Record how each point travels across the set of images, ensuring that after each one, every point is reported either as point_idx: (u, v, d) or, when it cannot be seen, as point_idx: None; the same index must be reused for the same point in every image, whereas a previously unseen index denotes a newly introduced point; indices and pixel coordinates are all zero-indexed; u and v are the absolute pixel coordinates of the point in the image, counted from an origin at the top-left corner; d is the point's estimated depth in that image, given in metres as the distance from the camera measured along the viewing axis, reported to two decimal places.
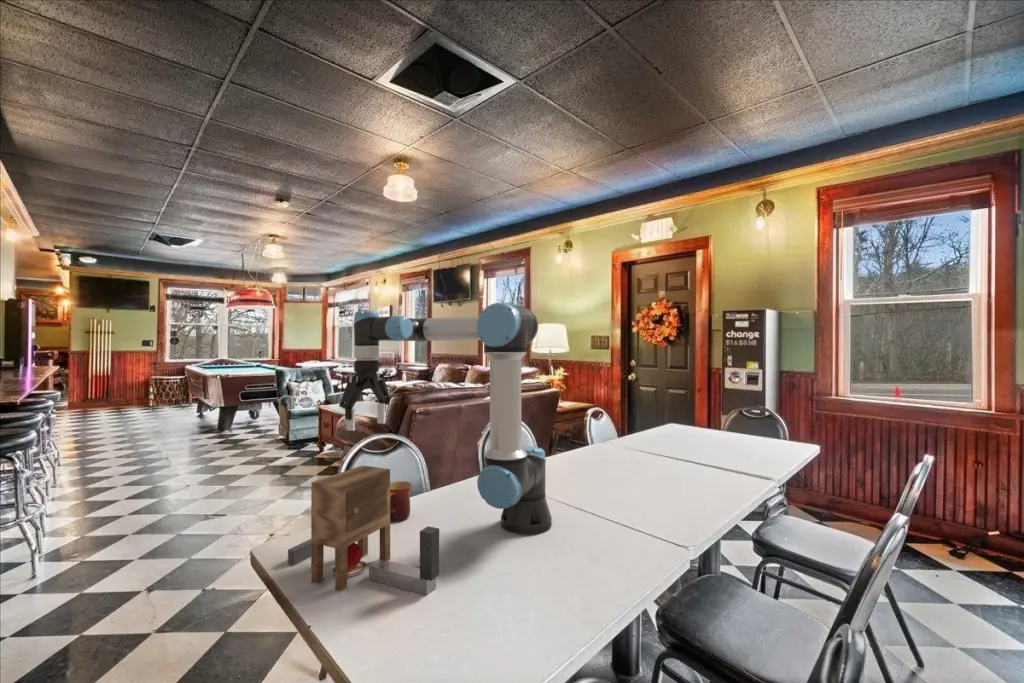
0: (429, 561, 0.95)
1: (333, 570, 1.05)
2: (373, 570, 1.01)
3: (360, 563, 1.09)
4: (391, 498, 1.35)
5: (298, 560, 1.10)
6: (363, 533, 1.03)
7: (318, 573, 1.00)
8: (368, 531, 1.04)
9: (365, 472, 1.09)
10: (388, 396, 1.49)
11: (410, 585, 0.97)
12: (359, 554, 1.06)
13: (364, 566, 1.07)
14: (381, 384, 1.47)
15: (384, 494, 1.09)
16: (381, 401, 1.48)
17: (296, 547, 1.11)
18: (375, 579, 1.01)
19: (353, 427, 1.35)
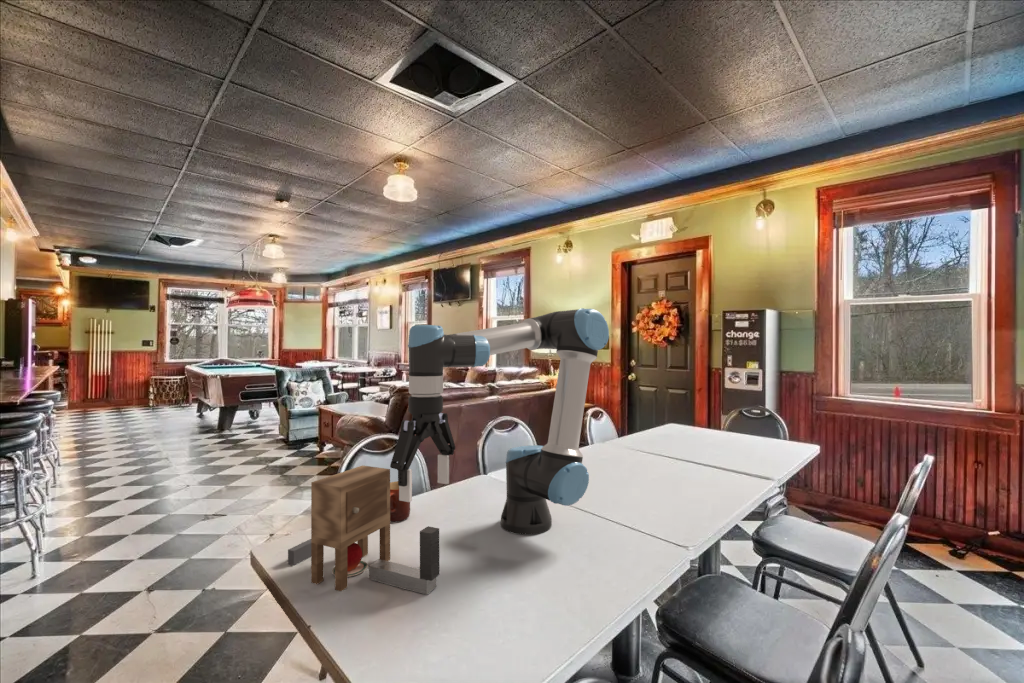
0: (429, 561, 0.95)
1: (333, 570, 1.05)
2: (373, 570, 1.01)
3: (360, 563, 1.09)
4: (391, 498, 1.35)
5: (298, 560, 1.10)
6: (363, 533, 1.03)
7: (318, 573, 1.00)
8: (368, 531, 1.04)
9: (365, 472, 1.09)
10: (452, 444, 1.06)
11: (410, 585, 0.97)
12: (359, 554, 1.06)
13: (364, 566, 1.07)
14: (444, 428, 1.04)
15: (384, 494, 1.09)
16: (443, 452, 1.05)
17: (296, 547, 1.11)
18: (375, 579, 1.01)
19: (410, 497, 0.92)
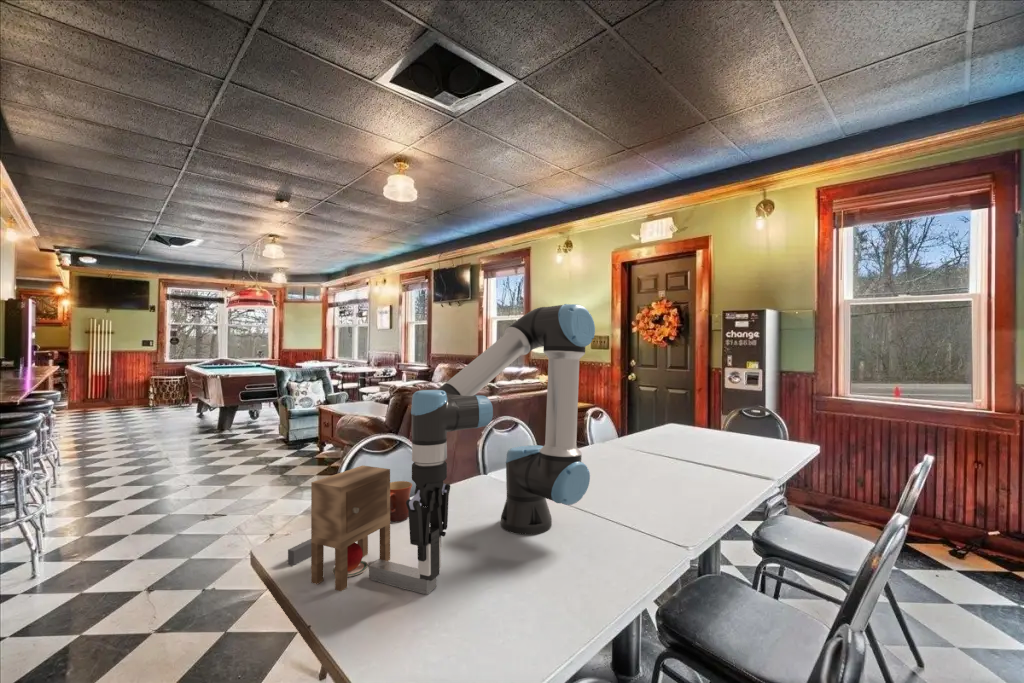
0: None
1: (334, 570, 1.05)
2: (373, 570, 1.01)
3: (361, 563, 1.09)
4: (391, 498, 1.35)
5: (298, 560, 1.10)
6: (363, 533, 1.03)
7: (318, 573, 1.00)
8: (368, 531, 1.04)
9: (365, 472, 1.09)
10: (445, 522, 1.01)
11: (410, 585, 0.97)
12: (360, 554, 1.06)
13: (365, 566, 1.07)
14: (443, 500, 1.01)
15: (384, 494, 1.09)
16: None
17: (296, 547, 1.11)
18: (375, 579, 1.01)
19: (429, 571, 0.94)
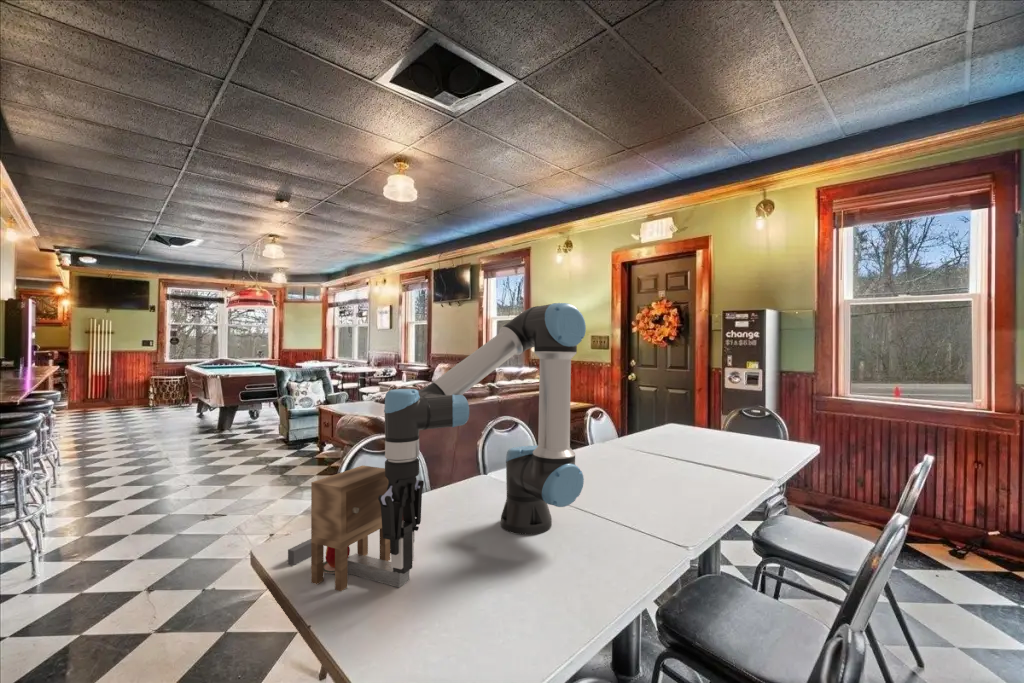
0: None
1: None
2: (349, 564, 1.04)
3: None
4: None
5: (298, 560, 1.10)
6: (363, 533, 1.03)
7: (318, 573, 1.00)
8: (368, 531, 1.04)
9: (365, 472, 1.09)
10: (419, 517, 1.04)
11: (384, 578, 1.00)
12: (347, 551, 1.07)
13: None
14: (416, 495, 1.04)
15: None
16: None
17: (296, 547, 1.11)
18: (351, 572, 1.04)
19: (401, 564, 0.97)
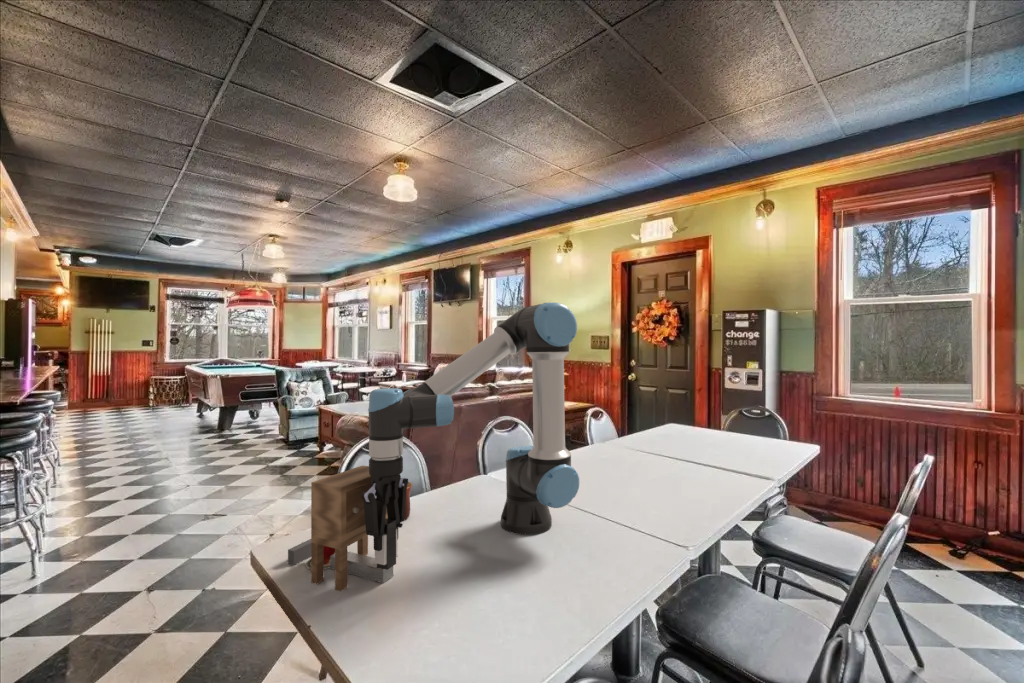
0: None
1: (307, 563, 1.08)
2: (334, 560, 1.06)
3: None
4: None
5: (298, 560, 1.10)
6: (363, 533, 1.03)
7: (318, 573, 1.00)
8: None
9: (365, 472, 1.09)
10: (403, 514, 1.06)
11: (368, 574, 1.02)
12: None
13: None
14: (400, 493, 1.06)
15: None
16: None
17: (296, 547, 1.11)
18: None
19: (385, 560, 0.99)
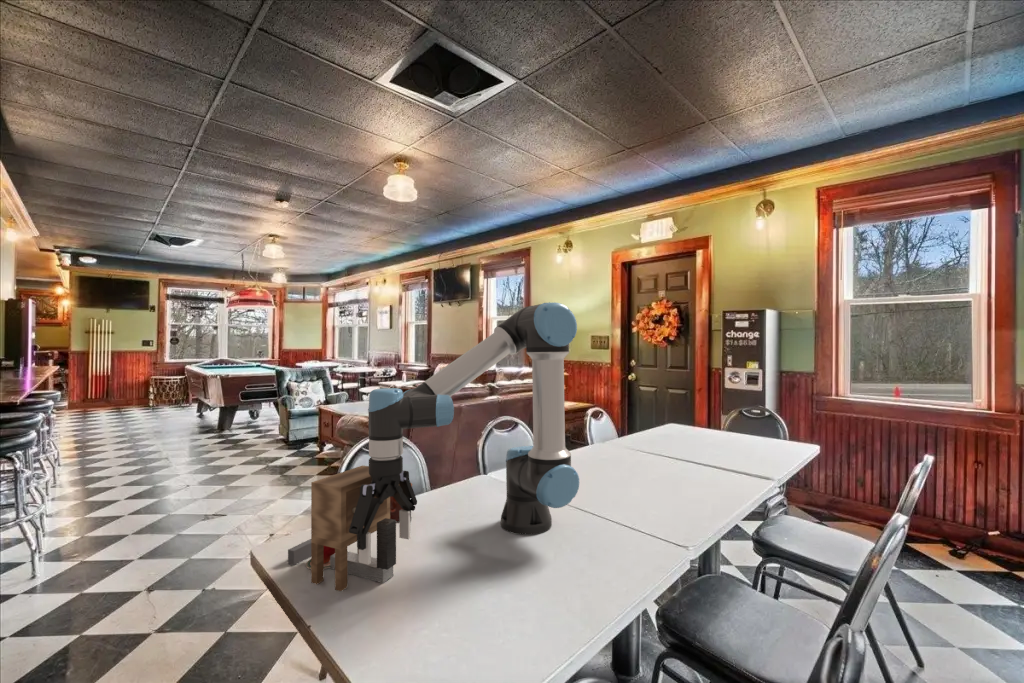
0: (385, 551, 1.00)
1: (307, 563, 1.08)
2: (334, 560, 1.06)
3: None
4: (391, 498, 1.35)
5: (298, 560, 1.10)
6: None
7: (318, 573, 1.00)
8: (368, 531, 1.04)
9: (365, 472, 1.09)
10: (414, 499, 1.10)
11: (368, 574, 1.02)
12: None
13: None
14: (405, 485, 1.08)
15: None
16: (405, 507, 1.09)
17: (296, 547, 1.11)
18: None
19: (369, 559, 0.95)
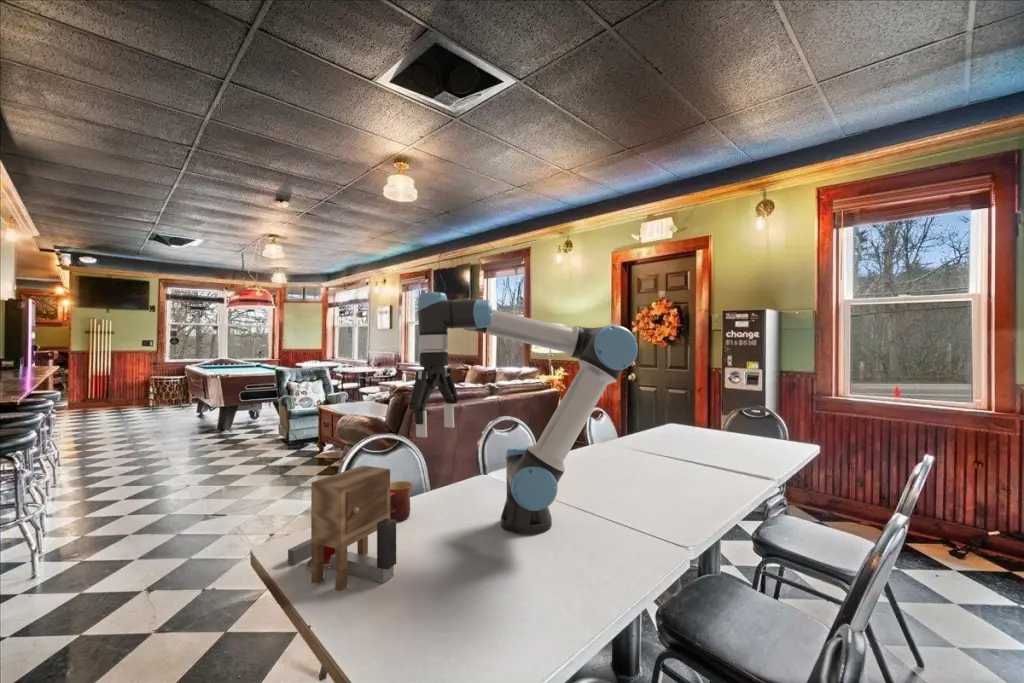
0: (385, 551, 1.00)
1: (308, 563, 1.08)
2: (334, 560, 1.06)
3: None
4: (391, 498, 1.35)
5: (298, 560, 1.10)
6: (363, 533, 1.03)
7: (318, 573, 1.00)
8: (368, 531, 1.04)
9: (365, 472, 1.09)
10: (456, 395, 1.26)
11: (368, 574, 1.02)
12: (333, 548, 1.09)
13: None
14: (448, 381, 1.24)
15: (384, 494, 1.09)
16: (448, 401, 1.25)
17: (296, 547, 1.11)
18: None
19: (426, 433, 1.11)
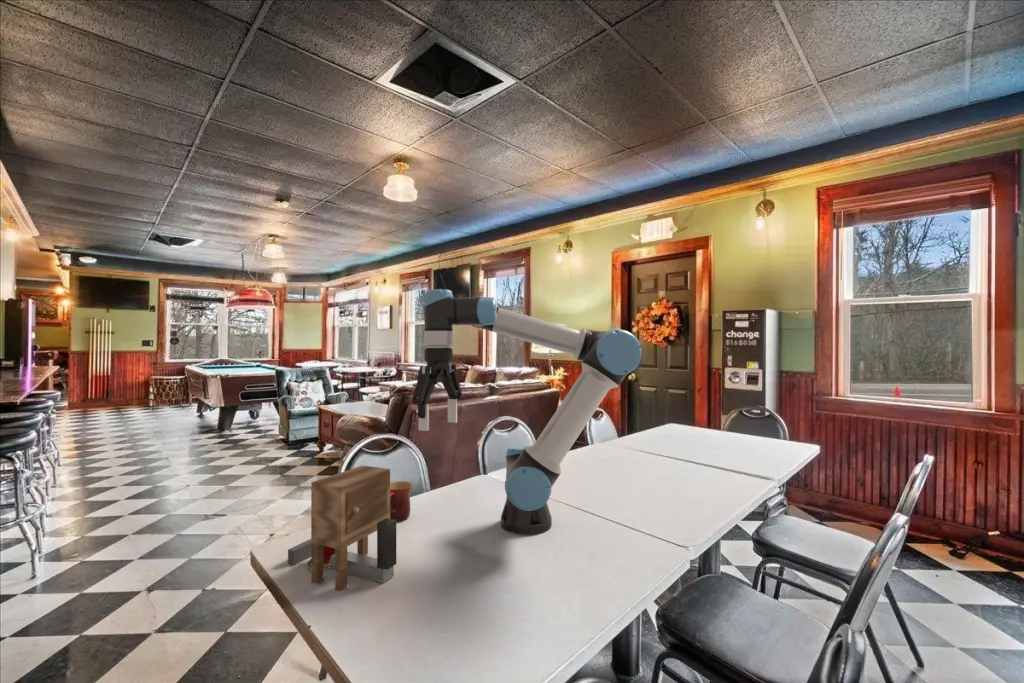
0: (386, 551, 1.00)
1: (308, 563, 1.08)
2: (334, 560, 1.06)
3: None
4: (391, 498, 1.35)
5: (298, 560, 1.10)
6: (363, 533, 1.03)
7: (318, 573, 1.00)
8: (368, 531, 1.04)
9: (365, 472, 1.09)
10: (459, 391, 1.28)
11: (368, 574, 1.02)
12: None
13: None
14: (452, 376, 1.26)
15: (384, 494, 1.09)
16: (452, 396, 1.27)
17: (296, 547, 1.11)
18: None
19: (427, 426, 1.13)
